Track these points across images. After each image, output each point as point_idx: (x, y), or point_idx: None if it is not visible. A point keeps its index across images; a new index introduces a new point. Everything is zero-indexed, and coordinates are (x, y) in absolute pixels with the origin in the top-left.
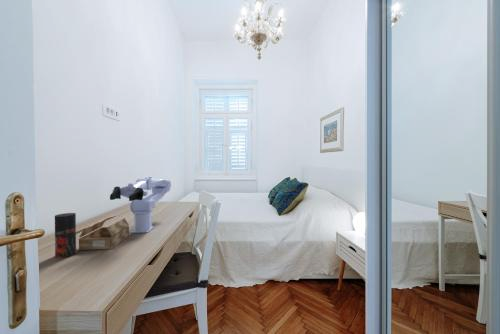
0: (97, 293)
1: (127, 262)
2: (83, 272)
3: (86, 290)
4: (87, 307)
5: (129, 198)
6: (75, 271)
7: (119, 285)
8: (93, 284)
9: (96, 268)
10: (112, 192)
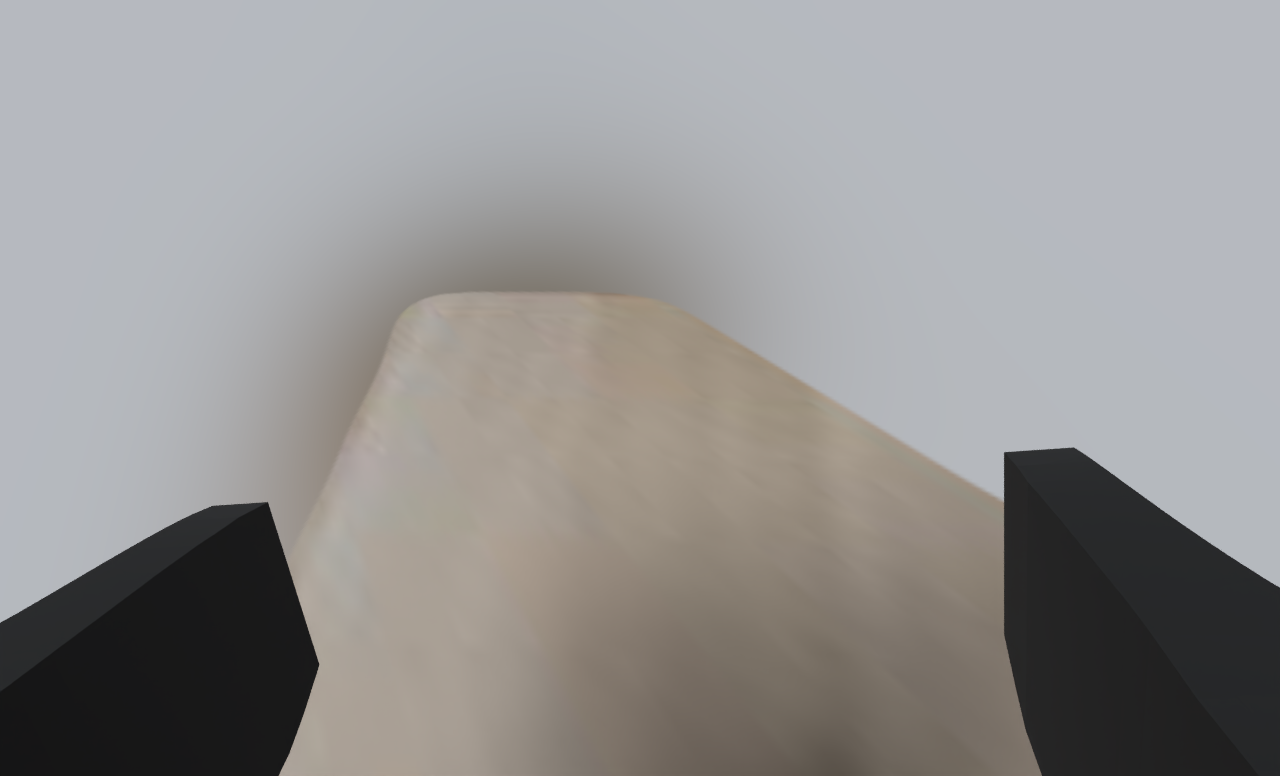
0: (472, 363)
1: (398, 663)
2: (715, 531)
3: (549, 380)
4: (471, 303)
5: (277, 579)
6: (798, 545)
7: (373, 409)
8: (540, 418)
9: (646, 579)
10: (1214, 547)
